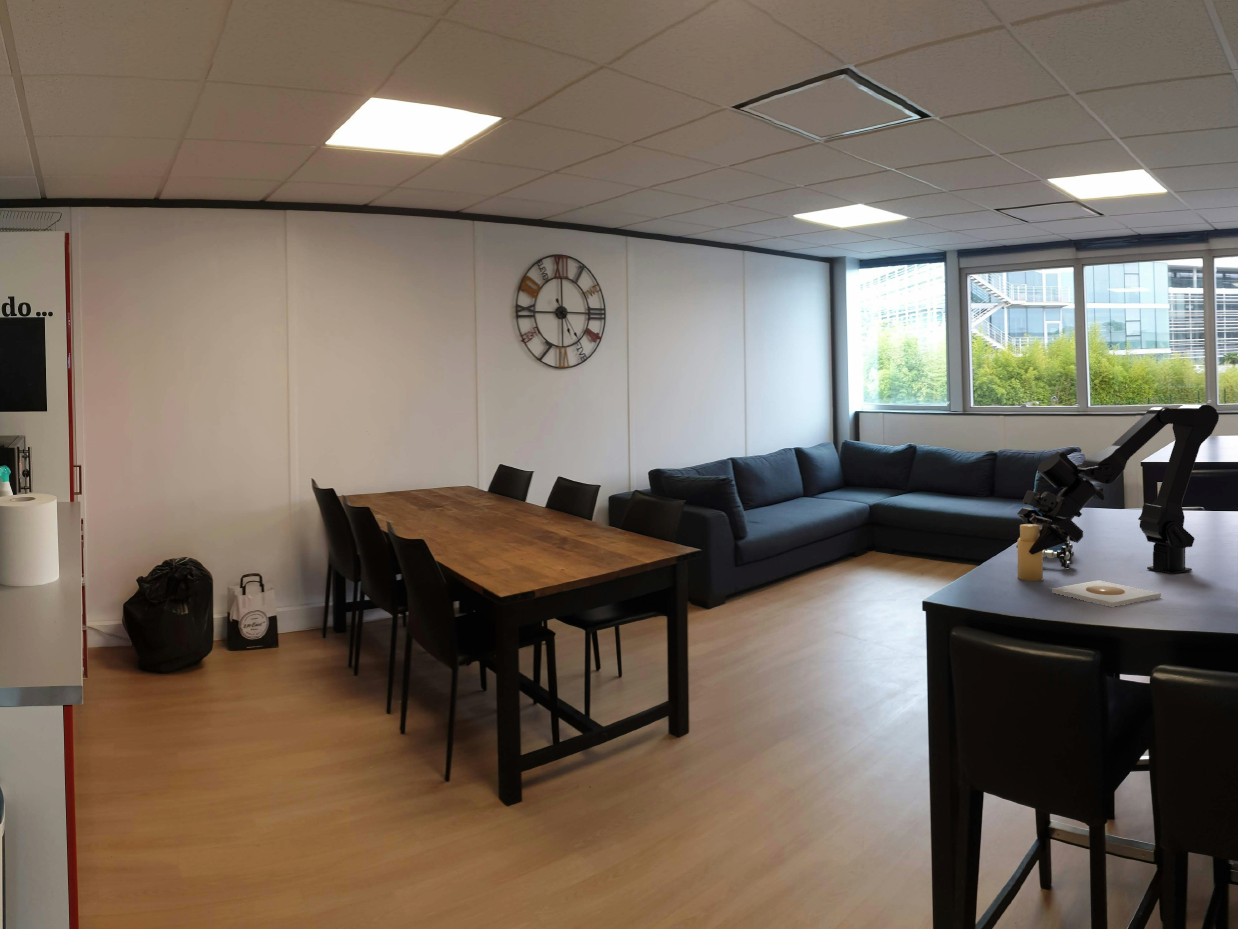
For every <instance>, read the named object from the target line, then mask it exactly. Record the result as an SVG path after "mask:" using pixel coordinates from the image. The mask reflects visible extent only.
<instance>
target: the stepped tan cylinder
mask: <svg viewBox="0 0 1238 929" xmlns="http://www.w3.org/2000/svg"><path fill="white" fill-rule="evenodd" d="M1019 534H1020V535H1019V538H1020V539H1019V538H1018V539H1017V542H1016V543H1017V544H1016V546H1017V548H1016V549H1018V553H1017V579H1018V578H1019V580H1021V581H1026V582H1038V581H1039V580H1040V581H1043V580H1042V579H1044V576H1043V575H1044V570H1043V569H1044V561H1043V560H1044V559H1043V558H1044V557H1043V551H1040V552H1038V553H1035V554H1033V555H1032V554H1031V553H1029V550H1030V548H1031V547H1032V545H1033V544H1034V543H1035V541H1036V540H1037V539H1038V537H1039V525H1035V524H1024V523H1023V524H1019ZM1040 581H1039V582H1040Z"/></svg>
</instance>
